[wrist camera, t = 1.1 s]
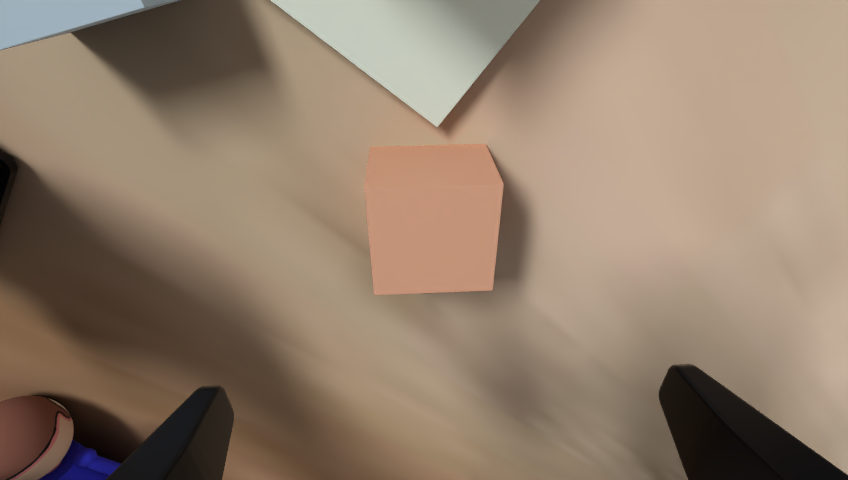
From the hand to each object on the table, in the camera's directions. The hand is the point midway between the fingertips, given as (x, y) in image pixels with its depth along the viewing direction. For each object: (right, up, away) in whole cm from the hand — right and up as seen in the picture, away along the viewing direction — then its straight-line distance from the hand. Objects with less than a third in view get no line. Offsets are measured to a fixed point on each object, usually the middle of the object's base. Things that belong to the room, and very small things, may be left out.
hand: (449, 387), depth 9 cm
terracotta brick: (0, +5, +12) cm, 13 cm away
